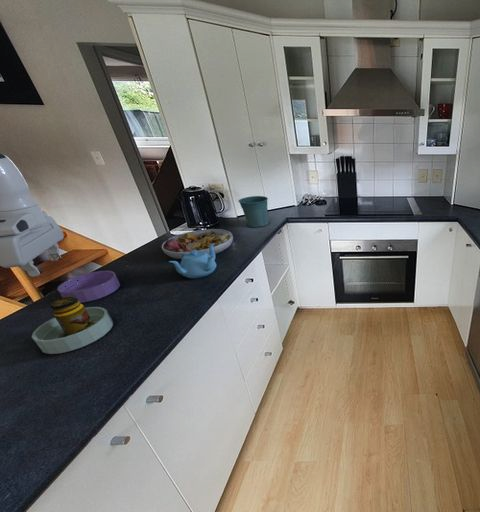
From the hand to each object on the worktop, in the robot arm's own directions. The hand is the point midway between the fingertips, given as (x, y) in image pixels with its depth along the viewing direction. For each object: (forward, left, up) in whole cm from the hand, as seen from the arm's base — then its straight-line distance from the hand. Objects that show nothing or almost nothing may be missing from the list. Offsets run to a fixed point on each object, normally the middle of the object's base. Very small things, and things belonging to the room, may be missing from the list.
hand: (47, 267), depth 74 cm
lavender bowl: (-7, +26, -23) cm, 35 cm away
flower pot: (+53, +83, -23) cm, 101 cm away
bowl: (+25, +55, -23) cm, 65 cm away
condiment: (-1, -2, -22) cm, 23 cm away
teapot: (+28, +27, -23) cm, 45 cm away
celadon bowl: (-1, -2, -23) cm, 23 cm away
